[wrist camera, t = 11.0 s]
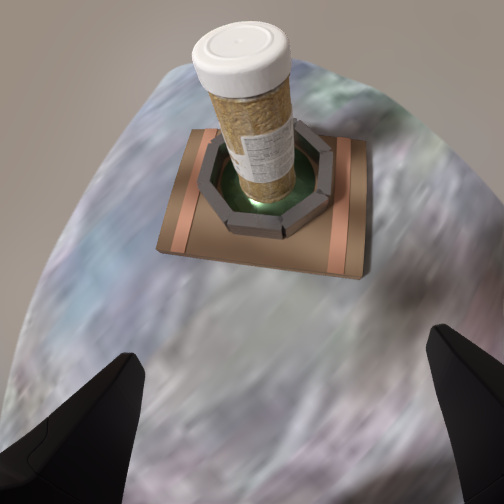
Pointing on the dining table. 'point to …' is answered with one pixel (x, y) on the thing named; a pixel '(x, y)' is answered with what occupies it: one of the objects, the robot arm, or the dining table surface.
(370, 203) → the dining table surface
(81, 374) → the dining table surface
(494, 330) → the dining table surface
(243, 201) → the ring
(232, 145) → the sprinkles bottle
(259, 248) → the wooden base board
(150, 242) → the dining table surface
